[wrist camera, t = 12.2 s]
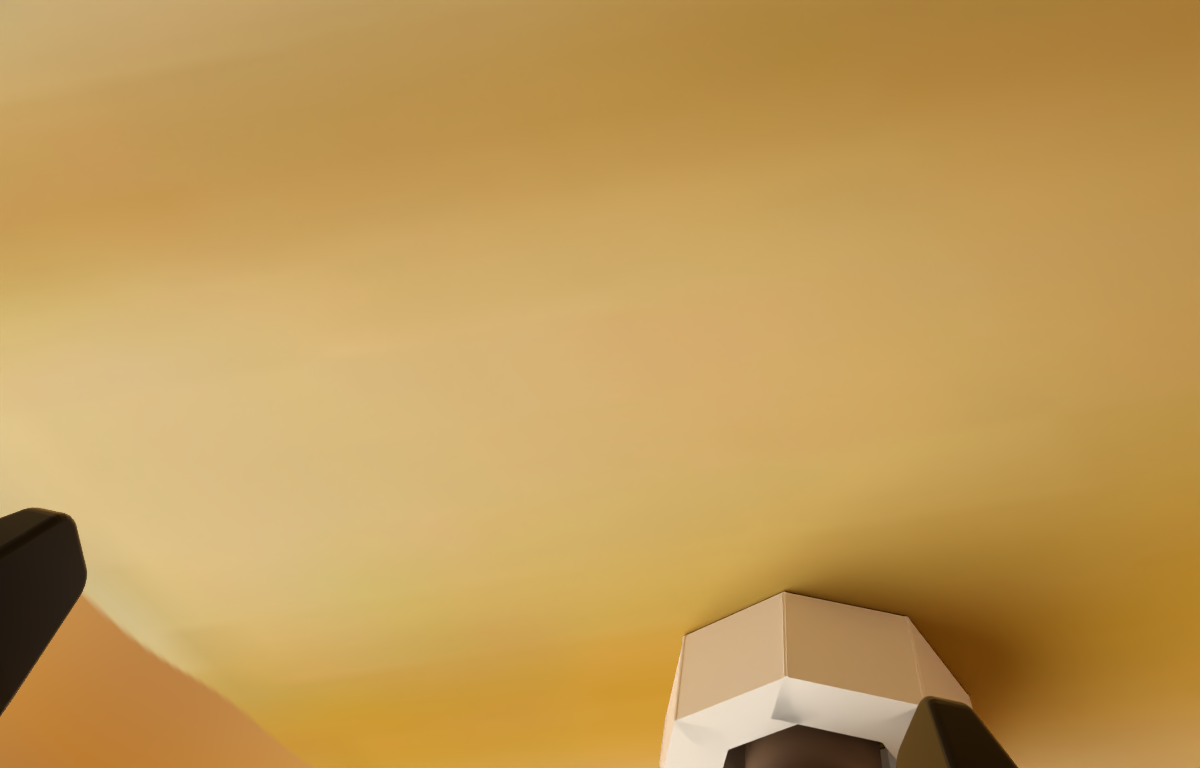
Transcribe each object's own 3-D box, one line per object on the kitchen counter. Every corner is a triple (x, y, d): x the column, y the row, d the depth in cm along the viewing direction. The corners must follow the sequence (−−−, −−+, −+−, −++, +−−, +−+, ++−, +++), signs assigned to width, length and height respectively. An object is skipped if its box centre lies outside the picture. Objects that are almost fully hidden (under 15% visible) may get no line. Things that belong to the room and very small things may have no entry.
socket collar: (998, 634, 23) (1029, 727, 20) (909, 821, 27) (925, 919, 24) (697, 573, 23) (688, 655, 21) (654, 764, 27) (642, 852, 25)
